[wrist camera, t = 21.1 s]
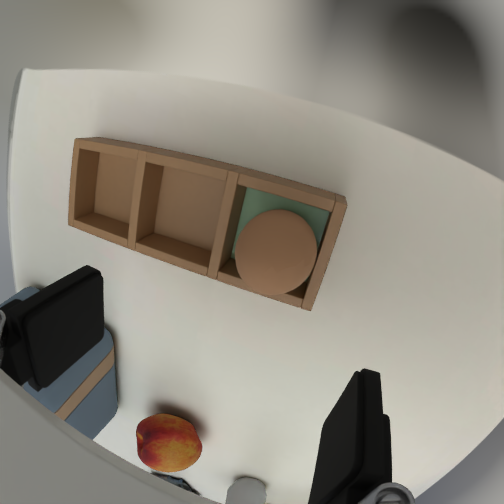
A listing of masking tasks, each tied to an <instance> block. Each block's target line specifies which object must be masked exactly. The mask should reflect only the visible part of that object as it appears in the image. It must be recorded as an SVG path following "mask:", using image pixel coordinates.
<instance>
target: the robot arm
mask: <svg viewBox="0 0 504 504" xmlns="http://www.w3.org/2000/svg"><path fill="white" fill-rule="evenodd" d="M8 313H9V317H7V318H6V316H5V313H4V312H3V311H2V310H0V504H221V503H218V502H215V501H212V500H210V499H207V498H204V497H202V496H199V495H197V494H194V493H192V492H190V491H187V490H185V489H183V488H180V487H178V486H176V485H174V484H171V483H169V482H167V481H165V480H163V479H161V478H159V477H157V476H155V475H153V474H151V473H149V472H147V471H145V470H143V469H141V468H139V467H137V466H135V465H133V464H131V463H130V462H128V461H126V460H124V459H122V458H121V457H119V456H117V455H116V454H114V453H112V452H110V451H109V450H107V449H105V448H104V447H102V446H101V445H99V444H97V443H96V442H94V441H93V440H91V439H90V438H88V437H87V436H85V435H84V434H82V433H81V432H79V431H78V430H76V429H75V428H73V427H72V426H70V425H69V424H68V423H66V422H65V421H63V420H62V419H61V418H59V417H58V416H57V415H55V414H54V413H53V412H51V411H50V410H49V409H47V408H46V407H45V406H44V405H42V404H41V403H40V402H39V401H37V400H36V399H35V398H34V397H32V396H31V395H30V394H29V393H28V392H26V391H25V390H24V383H26V382H27V381H28V384H29V385H30V386H31V387H32V388H33V389H34V390H36V391H37V392H39V391H40V390H41V389H42V388H47V387H48V386H49V385H51V384H52V383H53V382H54V381H55V380H56V379H57V378H59V377H60V376H61V375H62V374H63V373H64V372H65V371H66V370H68V369H69V368H70V367H71V366H72V365H73V364H74V363H76V362H77V361H78V360H79V359H80V358H81V357H83V356H84V355H85V354H86V353H87V352H88V351H89V350H91V349H92V348H93V347H94V346H95V345H96V344H98V343H99V342H100V341H101V340H102V338H103V337H104V332H105V331H104V301H103V277H102V276H101V272H100V271H99V270H97V269H95V268H93V267H91V266H88V265H86V266H84V267H82V268H80V269H78V270H76V271H74V272H72V273H71V274H69V275H67V276H65V277H63V278H62V279H60V280H58V281H56V282H54V283H53V284H51V285H49V286H47V287H46V288H44V289H42V290H40V291H39V292H37V293H35V294H33V295H32V296H30V297H28V298H26V299H25V300H23V301H21V302H20V303H18V304H16V305H15V306H13V307H11V308H10V309H8ZM308 504H415V499H414V497H413V495H412V493H411V492H410V491H409V490H408V488H406V487H404V486H403V485H401V484H398V483H392V454H391V432H390V419H389V416H388V415H386V414H383V406H382V391H381V379H380V373H379V372H376V371H372V370H368V369H365V368H364V369H362V370H361V371H360V372H359V371H356V372H355V373H354V374H353V376H352V378H351V380H350V381H349V383H348V385H347V386H346V388H345V390H344V391H343V393H342V395H341V396H340V398H339V400H338V401H337V403H336V404H335V406H334V408H333V409H332V411H331V412H330V414H329V416H328V417H327V419H326V420H325V422H324V424H323V427H322V432H321V438H320V444H319V450H318V456H317V461H316V467H315V472H314V477H313V483H312V488H311V492H310V497H309V502H308Z"/></svg>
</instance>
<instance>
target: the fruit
mask: <svg viewBox="0 0 504 504" xmlns="http://www.w3.org/2000/svg"><path fill="white" fill-rule="evenodd" d="M136 437H137V451H138V456H139V458H140V459H141V461H142V462H143V463H144V464H146V465H147V466H149V467H150V468H152V469H155V470H157V471H162V472H177V471H181V470H184V469H186V468H188V467H189V466H191V465H192V464H194V463H195V462H196V461H197V460H198V459H199V457H200V455H201V452H202V443H201V441H200V439H199V437H198V435H197V432H196V430H195V428H194V426H193V425H192V424H191V423H189V422H188V421H186V420H184V419H182V418H180V417H177V416H174V415H170V414H163V413H162V414H156V415H153V416H150V417H147V418H145V419H144V420H142V421H141V422H140V423H139V424H138V426H137V429H136Z"/></svg>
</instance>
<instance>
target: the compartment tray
mask: <svg viewBox="0 0 504 504" xmlns="http://www.w3.org/2000/svg"><path fill="white" fill-rule="evenodd" d="M346 208H347V202H346V197H344V196H341V195H338V194H335V193H332V192H329V191H325V190H322V189H319V188H316V187H312V186H309V185H306V184H302V183H299V182H295V181H292V180H288V179H285V178H281V177H278V176H274V175H271V174H267V173H263V172H259V171H256V170H252V169H248V168H244V167H240V166H236V165H232V164H228V163H224V162H220V161H216V160H212V159H207V158H203V157H199V156H194V155H190V154H185V153H181V152H176V151H171V150H166V149H162V148H157V147H152V146H146V145H141V144H136V143H130V142H125V141H119V140H113V139H107V138H101V137H92V138H76V139H75V140H74V148H73V157H72V167H71V178H70V193H69V214H68V225H70V226H72V227H75V228H77V229H80V230H82V231H85V232H87V233H90V234H92V235H95V236H97V237H100V238H103V239H105V240H108V241H110V242H113V243H116V244H118V245H121V246H123V247H126V248H129V249H131V250H134V251H137V252H140V253H142V254H145V255H148V256H151V257H153V258H156V259H159V260H161V261H164V262H167V263H170V264H173V265H175V266H178V267H181V268H184V269H186V270H189V271H192V272H195V273H198V274H201V275H203V276H207V277H209V278H212V279H215V280H216V279H217V280H218V281H221V282H224V283H226V284H229V285H232V286H235V287H238V288H241V289H244V290H247V291H250V292H253V293H256V294H259V295H262V296H265V297H268V298H271V299H274V300H277V301H280V302H283V303H286V304H290V305H293V306H296V307H299V308H300V307H301V308H302V309H305V310H308V311H311V309H312V307H313V304H314V301H315V299H316V296H317V293H318V290H319V288H320V285H321V282H322V279H323V277H324V274H325V271H326V268H327V265H328V262H329V260H330V257H331V254H332V251H333V248H334V245H335V242H336V239H337V236H338V233H339V230H340V227H341V224H342V221H343V217H344V214H345V211H346ZM275 209H283V210H287V211H291V212H294V213H296V214H297V215H299V216H301V217H302V218H303V219H304V220H305V221H306V222H307V223H308V224H309V225H310V227H311V228H312V230H313V232H314V236H315V239H316V243H317V256H316V260H315V263H314V267H313V269H312V271H311V273H310V274H309V276H308V277H307V279H306V280H305V281H304V282H303V283H302V284H301V285H300V286H298V287H297V288H295V289H294V290H291V291H289V292H286V293H284V294H279V295H266V294H262V293H259V292H256V291H254V290H252V289H251V288H250V287H249V286H247V284H246V283H245V282H244V281H243V280H242V278H241V277H240V275H239V273H238V270H237V267H236V261H235V247H236V242H237V240H238V237H239V235H240V233H241V231H242V230H243V228H244V227H245V225H246V224H247V223H248V222H249V221H250V220H251V219H253V218H254V217H256V216H257V215H259V214H260V213H263V212H266V211H269V210H275Z"/></svg>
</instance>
